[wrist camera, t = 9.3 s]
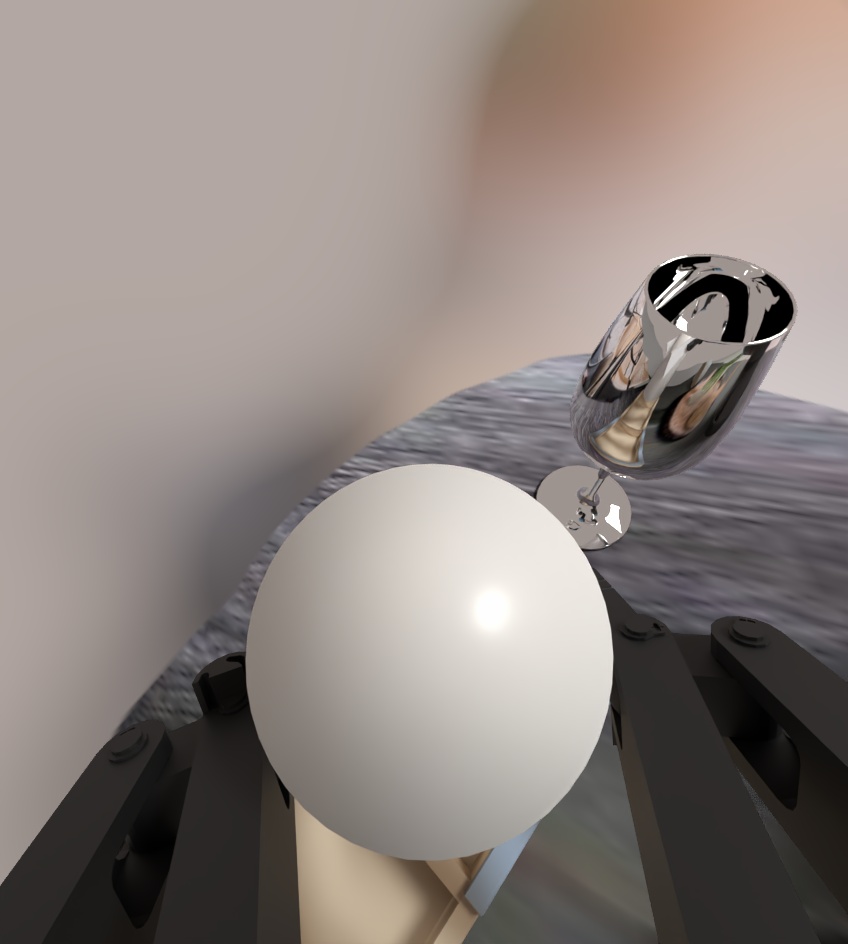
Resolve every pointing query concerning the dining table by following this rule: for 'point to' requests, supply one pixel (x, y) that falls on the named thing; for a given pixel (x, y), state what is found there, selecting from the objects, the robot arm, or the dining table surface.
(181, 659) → the dining table surface
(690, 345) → the wineglass
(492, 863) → the bay tray
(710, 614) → the dining table surface
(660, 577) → the dining table surface
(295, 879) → the robot arm
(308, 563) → the domed white canister
